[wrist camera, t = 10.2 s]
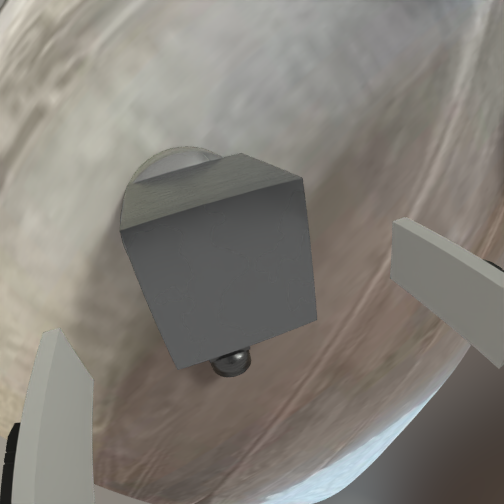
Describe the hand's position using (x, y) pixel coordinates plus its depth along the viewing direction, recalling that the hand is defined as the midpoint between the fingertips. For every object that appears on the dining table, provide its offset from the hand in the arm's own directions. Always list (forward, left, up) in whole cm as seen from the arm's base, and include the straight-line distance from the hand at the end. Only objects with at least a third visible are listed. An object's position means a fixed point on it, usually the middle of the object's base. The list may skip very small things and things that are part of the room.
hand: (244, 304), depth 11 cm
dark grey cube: (0, 0, -10) cm, 10 cm away
